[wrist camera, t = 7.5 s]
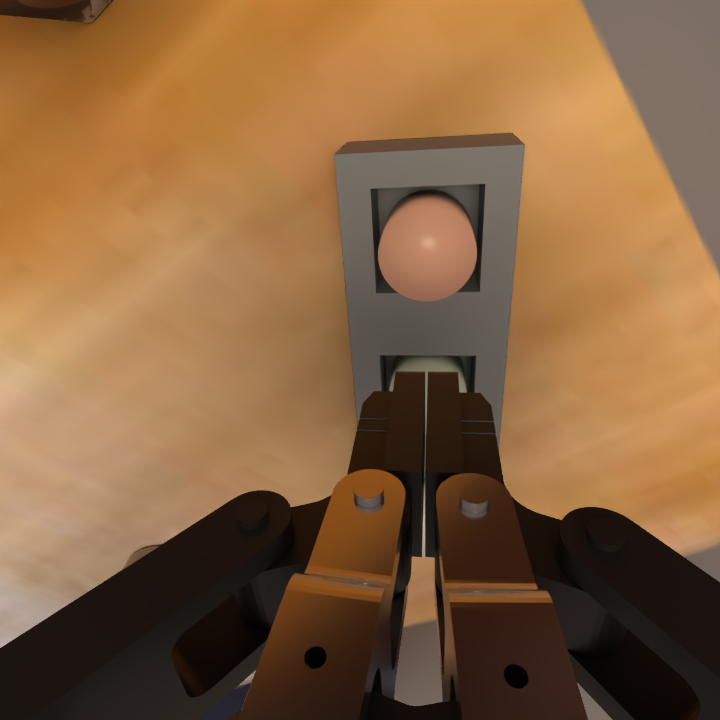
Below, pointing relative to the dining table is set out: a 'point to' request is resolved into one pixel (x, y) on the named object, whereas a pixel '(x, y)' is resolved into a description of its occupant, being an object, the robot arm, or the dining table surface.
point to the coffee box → (55, 9)
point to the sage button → (429, 369)
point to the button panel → (458, 311)
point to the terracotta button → (427, 246)
